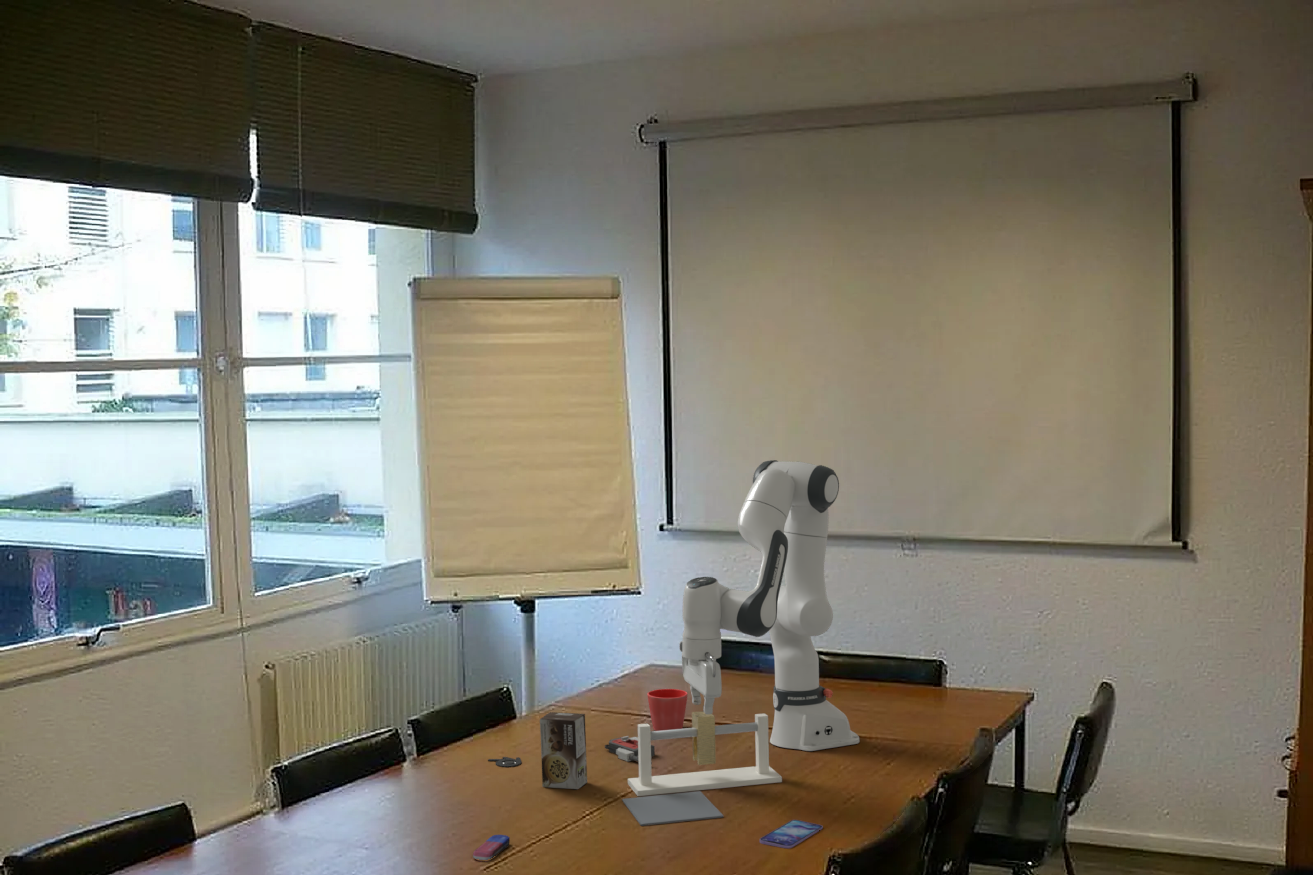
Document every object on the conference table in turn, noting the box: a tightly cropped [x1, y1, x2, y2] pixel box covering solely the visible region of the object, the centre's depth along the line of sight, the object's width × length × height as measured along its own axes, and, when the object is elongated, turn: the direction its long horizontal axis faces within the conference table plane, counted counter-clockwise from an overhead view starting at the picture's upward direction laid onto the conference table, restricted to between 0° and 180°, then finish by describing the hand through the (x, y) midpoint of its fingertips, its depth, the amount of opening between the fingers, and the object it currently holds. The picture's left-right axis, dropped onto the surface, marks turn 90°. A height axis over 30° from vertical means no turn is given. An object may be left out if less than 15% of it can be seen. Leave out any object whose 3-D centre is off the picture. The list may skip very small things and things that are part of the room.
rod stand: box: [627, 713, 783, 797], centre depth 327 cm, size 34×10×15 cm, turn 104°
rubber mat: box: [621, 790, 724, 827], centre depth 309 cm, size 18×18×1 cm
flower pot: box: [647, 688, 689, 731], centre depth 376 cm, size 11×11×10 cm
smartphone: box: [759, 819, 824, 849], centre depth 291 cm, size 7×1×15 cm
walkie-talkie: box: [604, 735, 655, 766], centre depth 351 cm, size 9×4×20 cm
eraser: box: [472, 834, 511, 860], centre depth 285 cm, size 11×4×2 cm, turn 162°
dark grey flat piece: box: [487, 756, 522, 768], centre depth 349 cm, size 9×8×1 cm
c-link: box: [691, 711, 717, 766], centre depth 327 cm, size 4×5×11 cm
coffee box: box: [539, 711, 588, 790], centre depth 328 cm, size 9×6×16 cm
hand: (702, 708), depth 326 cm, fingers open, 8 cm apart
